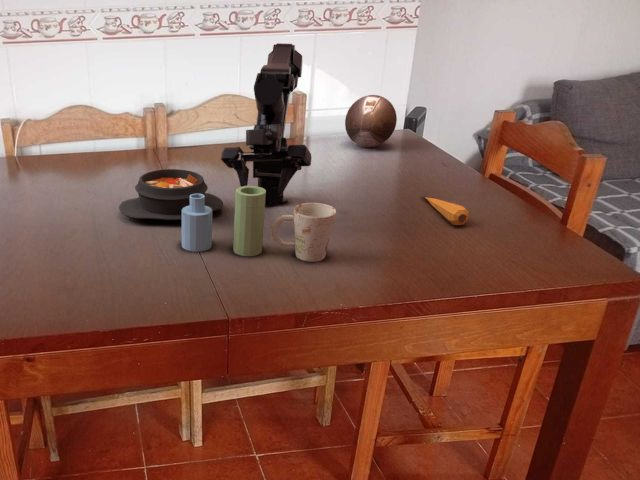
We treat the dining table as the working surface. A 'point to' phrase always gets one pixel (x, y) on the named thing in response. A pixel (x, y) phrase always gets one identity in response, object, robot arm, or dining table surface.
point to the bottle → (197, 225)
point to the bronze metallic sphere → (370, 121)
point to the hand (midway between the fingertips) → (261, 195)
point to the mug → (309, 230)
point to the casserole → (167, 195)
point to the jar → (249, 220)
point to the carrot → (450, 211)
